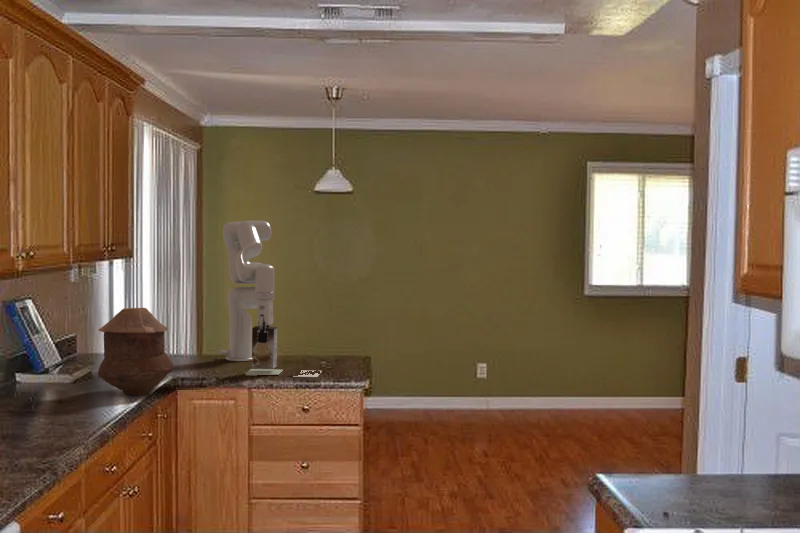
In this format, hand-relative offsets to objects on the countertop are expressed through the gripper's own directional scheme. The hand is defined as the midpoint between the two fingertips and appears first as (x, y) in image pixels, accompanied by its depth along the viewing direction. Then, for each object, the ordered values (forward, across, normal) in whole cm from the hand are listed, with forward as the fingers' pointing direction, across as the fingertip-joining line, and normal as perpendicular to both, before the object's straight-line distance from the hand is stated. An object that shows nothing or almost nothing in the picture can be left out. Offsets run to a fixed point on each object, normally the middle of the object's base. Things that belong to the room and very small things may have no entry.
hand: (264, 340), depth 348 cm
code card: (+13, +1, -16) cm, 21 cm away
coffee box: (+11, 0, 0) cm, 11 cm away
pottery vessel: (+13, -43, +37) cm, 58 cm away
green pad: (+13, 0, 0) cm, 13 cm away
